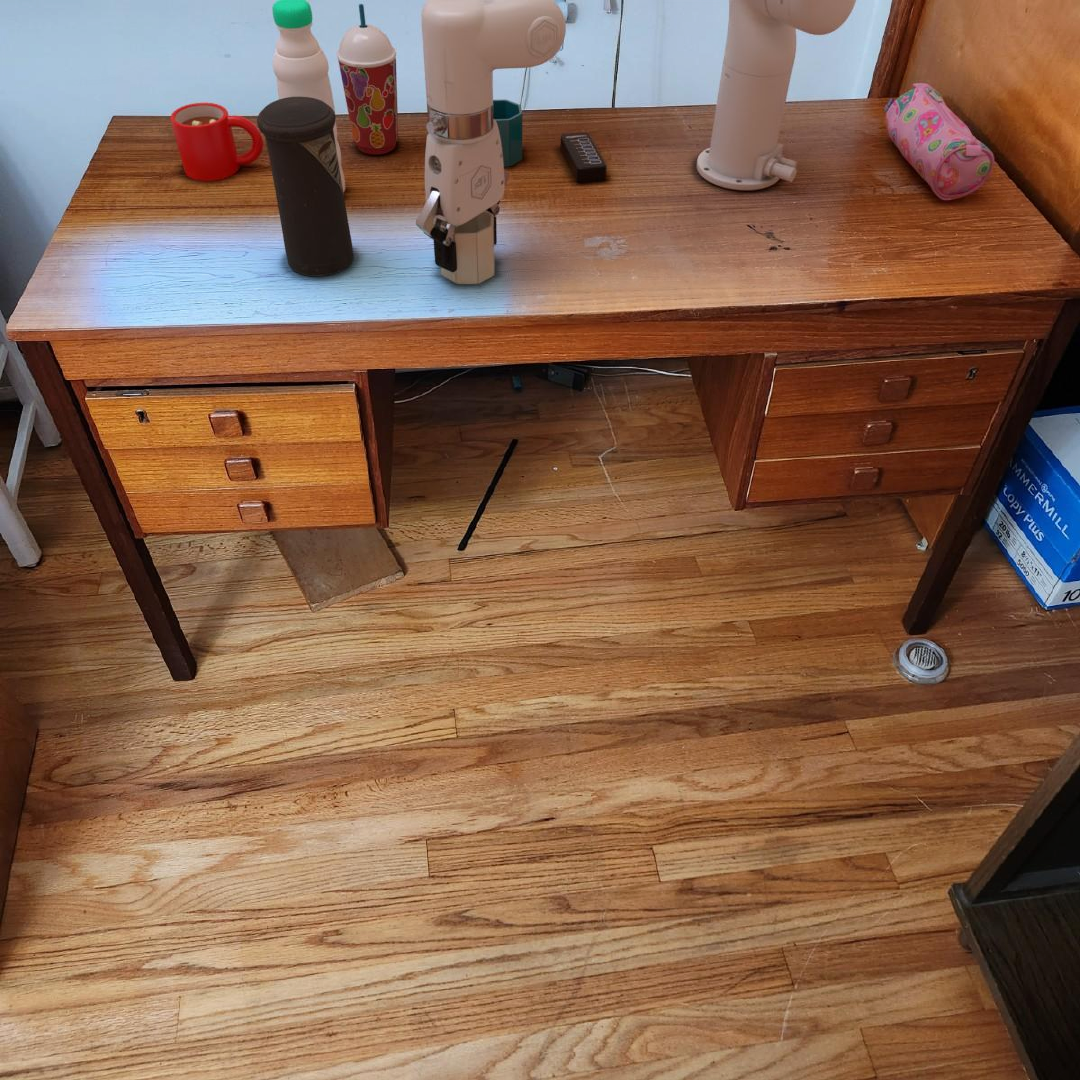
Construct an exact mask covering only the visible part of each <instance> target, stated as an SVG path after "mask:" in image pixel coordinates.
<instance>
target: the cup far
mask: <svg viewBox="0 0 1080 1080" xmlns="http://www.w3.org/2000/svg"><path fill="white" fill-rule="evenodd" d="M493 119H494V120H495V121H496V122H497V126H498V129H499V134H500V138H501V145H502V153H503V164H504V168H505V167H506V168H507V167H509V168H510V167H512V166H514V165H515V164H518V163H520V161H523V110H522V105H521V104H519V103H516V102H514V101H512V100H509V99H493Z"/></svg>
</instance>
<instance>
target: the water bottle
mask: <svg viewBox="0 0 1080 1080" xmlns="http://www.w3.org/2000/svg"><path fill="white" fill-rule="evenodd" d="M312 11H313V10H312V7H311V5H310V3H309V2H308V1H307V0H277V1H275V2H274V3H273V5H272V17H273V21H274V24H275V27H276V29H278V30H279V31H278V32H279V37H278V39H277V41H276V46H275V47H276V48H275V51H274V54H273V57H272V69H273V73H274V75H275V78H276V87H277V95H278V100H279V99H283V98H288V97H310V98H315V99H318V100H321V101H323V102H325V103H326V104H327V105H329V106H330V107H331V108H332V109H333V110H334V113H335V114H336V109H335V103H334V97H333V91H332V90H333V89H332V85H331V80H330V76H329V69H330V66H329V61H328V58H327V56H326V54H325V52H324V50H323V49H322V47H321V46H320V44H319V42H318V40H317V38H316V37H315V36H314V35H313V33H312V30H311V28H312V26H313V12H312ZM337 127H338V125H337V120H336V121H335V124H334V128H333V131H334V138H335V144H336V151H337V157H338V163H339V169H340V175H341V181H342V187H343V193H345V191H346V181H345V175H344V170H343V167H342V166H343V165H342V152H341V147H340V144H339V140H338V128H337Z"/></svg>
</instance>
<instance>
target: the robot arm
mask: <svg viewBox="0 0 1080 1080" xmlns="http://www.w3.org/2000/svg"><path fill="white" fill-rule="evenodd" d="M856 2H857V0H728V23H727V33H726V41H725V47H724V54H723V61H722V67H721V72H720V79H719V86H718V92H717V97H716V98H717V99H716V104H715V111H714V119H713V122H712V123H713V124H712V130H711V137H710V142H709V143H710V144H709V147H708V148H706V149H704V150H703V151H702V152H700V154H699V155H698V157H697V159H696V171H697V173H699V175H700V176H701V177H702V178H703V179H704V180H705V181H707V182H709V183H710V184H713V185H715V186H717V187H721V188H724V189H729V190H736V191H757V190H763V189H765V188H770V187H771V186H774V185H775V184H776V183H777V182H778V181H779V180H780V179H781V180H783V181H785V182H789V183H792V182H793V181H794V180H795V178H796V176H797V173H798V170H797V168H796V167H797V165H798V162H797V161H796V160H793V159H790V158H786V157H784V155H783V154H782V152H783V147H784V144H782V143H779V142H778V140H779V137H780V131H781V126H782V121H783V116H784V111H785V108H786V102H787V97H788V93H789V89H790V83H791V78H792V73H793V68H794V64H795V59H796V53H797V30H799V31H801V32H803V33H805V34H809V35H812V36H825V35H829V34H831V33H833V32H835V31H837V30H838V29H839V28H841V27H842V26H843V25H844V23H845V22H847V20H848V18H849V16H850V15H851V13H852V11H853V10H854V8H855V4H856ZM563 13H564V12H563V11H562V9H561V8H560V6H559V5H558V4H557V3H556V1H555V0H427V1H426V2H425V3H424V4H423V7H422V9H421V14H420V16H421V17H420V18H421V20H420V21H421V37H422V39H421V40H422V51H423V68H424V82H425V83H424V84H425V95H426V96H425V97H426V111H427V112H426V113H427V122H426V124H425V130H426V131H427V133H428V134H427V135H426V140H425V141H426V143H425V152H424V153H425V155H424V197H425V203H424V205H423V207H422V209H421V211H420V213H419V215H418V217H417V218H416V221H415V225H416V227H417V228H418V229H419V230H421V231H422V232H423V234H424V235H426V236H427V237H429V239H431V240H433V252H434V264H435V265H436V266H437V267H439V268H441V267H442V268H444V269H446V270H448V271H450V272H455V271H456V270H457V256H456V243H455V242H453V241H452V239H453V235H454V232H455V228H456V226H460V225H462V224H464V223H466V222H468V221H469V220H471V219H472V218H474V217H476V216H477V215H479V214H480V213H482V212H484V211H485V210H486V211H488V212H490V213H492V214H493V215H494V246H496V245H497V243H498V235H497V234H498V232H497V230H498V229H497V228H498V227H497V216H498V215H499V213H500V206H499V205H500V202H501V201H502V199H503V198H504V195H505V188H506V185H507V182H508V180H509V177H510V173H509V172H508V171H506V170H505V167H504V164H503V153H502V145H501V138H500V134H499V129H498V126H497V122H496V121H495V120H494V119H493V100H494V73H493V72H494V71H495V70H503V69H526V68H533V67H537V66H540V65H543V64H545V63H547V62H549V61H551V59H553V58H554V57H555V56H556V55H557V54H558V53H559V51H560V49H561V48H562V47H563V44H564V42H565V39H566V35H567V34H566V33H567V24H566V18H565V15H564V14H563ZM442 221H444V222H447V226H446V229H445V233H444V232H443V231H441V230H440V227H441V223H442Z"/></svg>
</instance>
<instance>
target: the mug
mask: <svg viewBox="0 0 1080 1080" xmlns="http://www.w3.org/2000/svg"><path fill="white" fill-rule="evenodd" d="M170 122H171V126H172V130H173V134H174V137H175V140H176V145H177V148H178V149H177V150H178V151H179V156H180V160H181V163H182V167H183V171H184V174H185V175H186V176H187V177H189V178H190V179H192V180H194V181H195V180H196V181H200V182H213V181H214V182H215V181H220V180H223V179H226V178H229V177H231V176H233V175H235V174H236V173H237V172H238V170H239V169H240V166H246V165H250V164H252V163H254V162H255V161H256V160H258V158H259V157H260V156H261V154H262V152H263V149H264V139H263V137H262V134H261V131H260V130H259V128H258V126H257V125H256V124H255V123H253V122H252V121H250V120H249V119H248V118H246V117H244V116H240V115H229V112H228V110H227V108H226V107H225V106H222V105H221V104H219V103H213V102H194V103H190V104H185V105H182V106H180V107H178V108H177V109H175V110H173V112H172V113H171V115H170ZM232 127H235V128H240V129H243V130H245V131H246V132H247V133H248V134H249V136H250V137H251V142H252V145H251V148H250V150H249V151H248V152H246V153H243V154H238V151H237V148H236V142H235V139H234V133H233V129H232Z"/></svg>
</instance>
